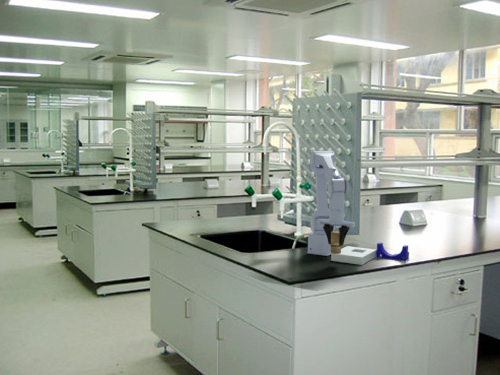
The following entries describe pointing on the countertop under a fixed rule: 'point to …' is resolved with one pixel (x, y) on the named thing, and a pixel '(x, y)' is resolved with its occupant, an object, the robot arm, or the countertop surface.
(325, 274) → the countertop surface
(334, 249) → the oak peg
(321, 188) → the robot arm
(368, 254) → the hole board
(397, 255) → the blue cradle bracket
